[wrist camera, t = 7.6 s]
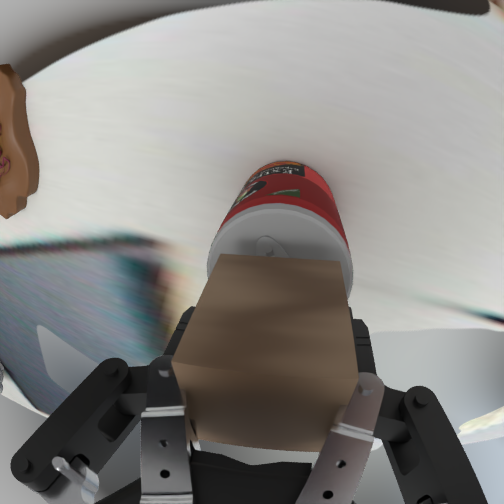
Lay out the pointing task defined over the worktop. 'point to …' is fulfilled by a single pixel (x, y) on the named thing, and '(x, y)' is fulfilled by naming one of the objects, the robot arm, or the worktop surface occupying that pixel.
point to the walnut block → (268, 353)
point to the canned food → (284, 220)
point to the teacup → (1, 377)
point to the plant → (15, 146)
